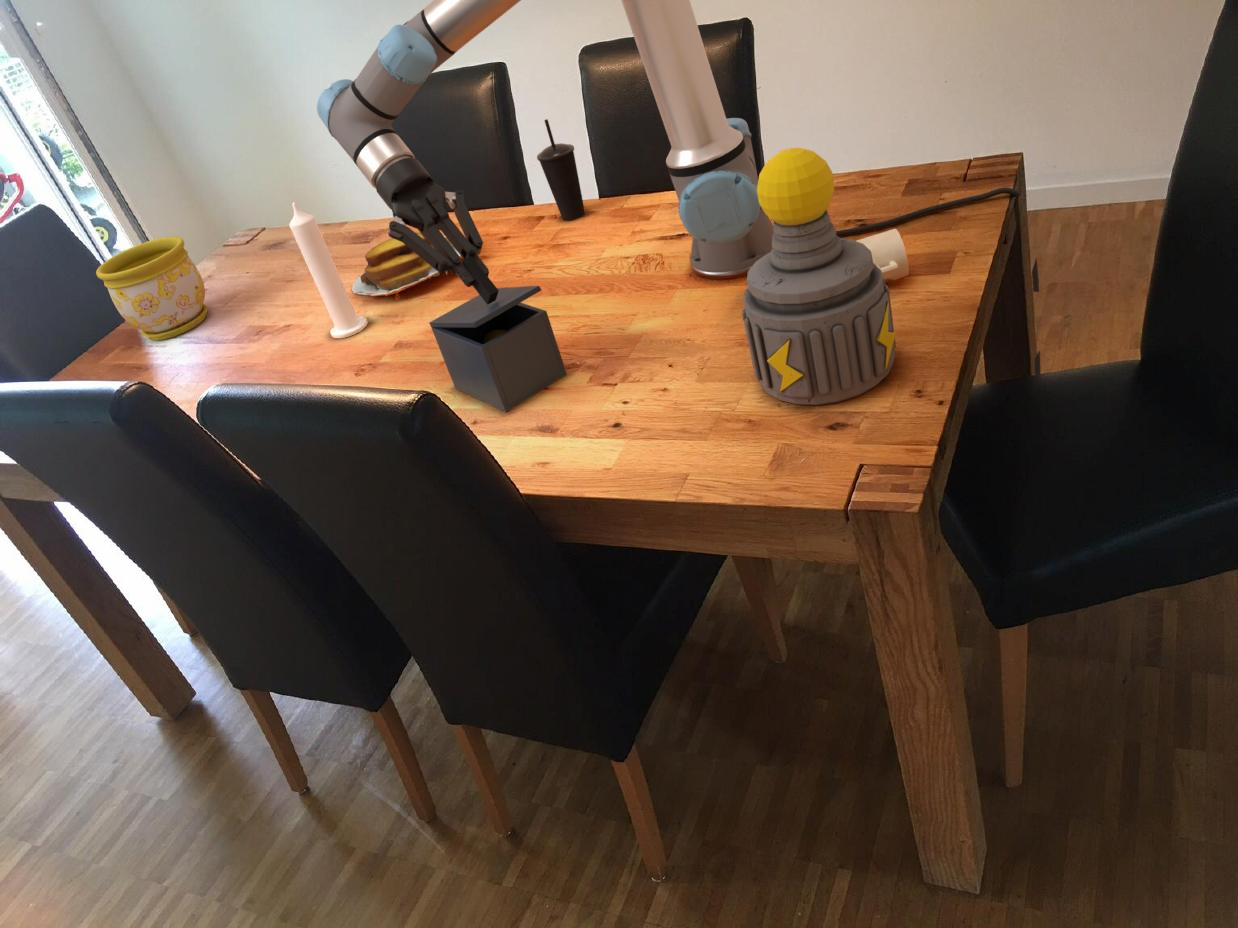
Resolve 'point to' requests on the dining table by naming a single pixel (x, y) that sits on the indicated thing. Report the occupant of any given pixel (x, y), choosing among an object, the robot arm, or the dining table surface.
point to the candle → (325, 275)
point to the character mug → (888, 254)
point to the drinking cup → (562, 177)
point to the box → (503, 357)
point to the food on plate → (393, 269)
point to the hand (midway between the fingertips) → (493, 297)
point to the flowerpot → (156, 287)
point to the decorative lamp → (814, 294)
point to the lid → (484, 308)
